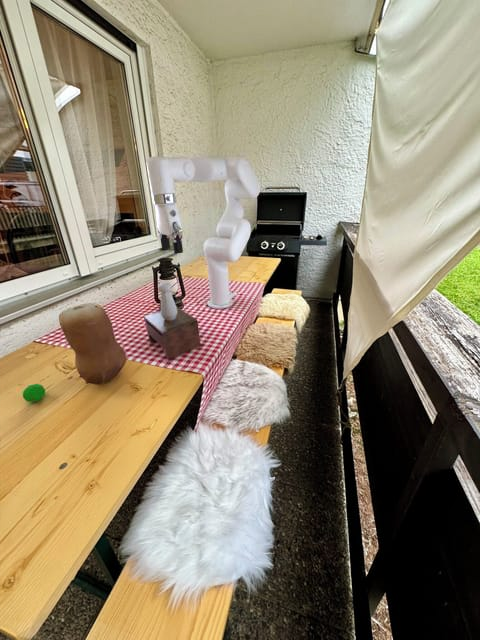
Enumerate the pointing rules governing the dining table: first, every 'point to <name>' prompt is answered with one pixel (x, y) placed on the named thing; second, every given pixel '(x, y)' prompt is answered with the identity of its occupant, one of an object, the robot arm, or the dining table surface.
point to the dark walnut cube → (173, 332)
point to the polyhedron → (34, 392)
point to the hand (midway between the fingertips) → (172, 250)
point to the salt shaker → (167, 302)
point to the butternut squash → (92, 342)
